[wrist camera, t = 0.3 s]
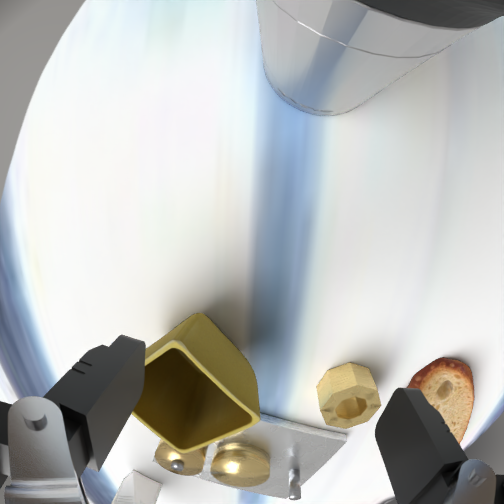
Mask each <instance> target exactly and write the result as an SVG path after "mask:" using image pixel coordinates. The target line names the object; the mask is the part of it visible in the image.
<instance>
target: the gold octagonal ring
mask: <svg viewBox="0 0 504 504" xmlns="http://www.w3.org/2000/svg"><path fill="white" fill-rule="evenodd" d="M317 393H318V399H319V406H320V411H321V413H322V416H323V418H324V420H325V423H326V425H330V426H335V427H340V428H344V429H347V428H350V427H353V426H356V425H359V424H362V423H365V422H367V421H369V420H370V418H371V417H372V416H373V415H374V414H375V412H376V411H377V410H378V409H379V408H380V406H381V403H380V398H379V394H378V390H377V387H376V385H375V382H374V380H373V378H372V375H371V373H370V370H369V368H367V367H363V366H360V365H357V364H354V363H351V362H349V363H347V364H344V365H341V366H338V367H335V368H333V369H330V370H327V372H326V373H325V375H324V376H323V378H322V379H321V381H320V382H319V384H318V385H317Z"/></svg>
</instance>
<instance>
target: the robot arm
mask: <svg viewBox="0 0 504 504" xmlns="http://www.w3.org/2000/svg"><path fill="white" fill-rule="evenodd" d="M256 4H257V12H258V20H259V28H260V36H261V46H262V56H263V64H264V70H265V73H266V77H267V79H268V81H269V83H270V85H271V87H272V88H273V89H274V91H275V92H276V93H277V94H278V95H279V97H281V98H282V99H283V100H284V101H286V102H287V103H288V104H289V105H291V106H293V107H295V108H297V109H299V110H301V111H304V112H307V113H310V114H314V115H322V116H329V115H338V114H342V113H346V112H348V111H350V110H352V109H354V108H356V107H358V106H359V105H361V104H362V103H363V102H365V101H366V100H368V99H369V98H371V97H372V96H374V95H375V94H377V93H378V92H380V91H381V90H383V89H384V88H386V87H387V86H389V85H390V84H391V83H393V82H394V81H396V80H397V79H399V78H400V77H402V76H403V75H405V74H406V73H408V72H409V71H411V70H413V69H414V68H416V67H417V66H419V65H420V64H422V63H423V62H425V61H426V60H428V59H430V58H431V57H433V56H434V55H436V54H437V53H439V52H441V51H442V50H444V49H445V48H447V47H449V46H450V45H451V44H453V43H455V42H456V41H458V40H459V39H461V38H463V37H464V36H466V35H468V34H470V33H471V32H473V31H475V30H476V29H478V28H480V27H481V26H483V25H485V24H488V23H489V22H491V21H493V20H495V19H497V18H499V17H501V16H504V0H256ZM145 351H146V345H145V342H144V341H141V340H137V339H134V338H131V337H128V336H125V335H120V336H119V337H118V338H117V339H116V340H115V341H114V342H113V343H112V344H111V345H110V346H109V347H108V346H105V345H100V346H98V347H96V348H93V349H91V350H89V351H88V352H87V353H86V354H85V355H84V356H83V357H82V358H81V359H80V360H79V362H77V363H76V364H75V365H74V366H73V367H72V369H70V370H69V371H68V372H67V373H66V374H65V375H64V376H63V377H62V378H61V379H60V380H59V381H58V382H57V383H56V384H55V385H54V386H53V387H52V388H51V389H50V390H49V391H48V393H47V394H46V395H45V396H44V397H43V398H42V397H35V396H32V397H25V398H22V399H20V400H18V401H16V402H15V403H14V404H13V405H12V404H8V403H5V402H1V401H0V488H1V487H2V485H3V484H4V482H5V480H6V479H7V477H8V476H11V485H10V486H6V487H5V491H4V499H5V504H89V501H88V499H87V495H86V492H85V489H84V486H83V483H82V479H81V475H82V473H83V471H84V470H85V468H86V467H88V468H90V469H93V470H95V471H97V472H99V470H100V468H101V467H102V465H103V463H104V461H105V459H106V458H107V456H108V454H109V452H110V450H111V449H112V447H113V445H114V443H115V441H116V440H117V438H118V436H119V434H120V432H121V431H122V429H123V427H124V425H125V424H126V422H127V420H128V418H129V417H130V415H131V413H132V411H133V410H134V408H135V406H136V404H137V403H138V401H139V399H140V397H141V394H142V391H143V387H144V374H145ZM375 438H376V441H377V444H378V447H379V450H380V452H381V455H382V458H383V461H384V464H385V467H386V470H387V473H388V476H389V479H390V482H391V485H392V488H393V491H394V494H395V497H396V500H397V503H398V504H504V475H495V473H494V471H493V469H492V468H491V467H490V466H489V465H487V464H486V463H485V462H483V461H480V460H475V459H472V460H468V458H467V456H466V455H465V453H464V451H463V450H462V448H461V446H460V445H459V443H458V441H457V440H456V438H455V436H454V435H453V433H452V432H450V428H449V427H448V425H447V424H445V420H444V419H443V417H442V415H441V414H440V412H439V411H438V410H436V409H435V408H434V407H433V406H432V405H431V404H430V403H429V402H428V401H427V399H426V397H425V396H424V394H423V393H422V391H421V390H420V389H417V388H398V389H396V390H395V391H394V393H393V395H392V397H391V399H390V400H389V402H388V404H387V406H386V408H385V410H384V411H383V413H382V415H381V417H380V418H379V420H378V422H377V425H376V429H375Z"/></svg>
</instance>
